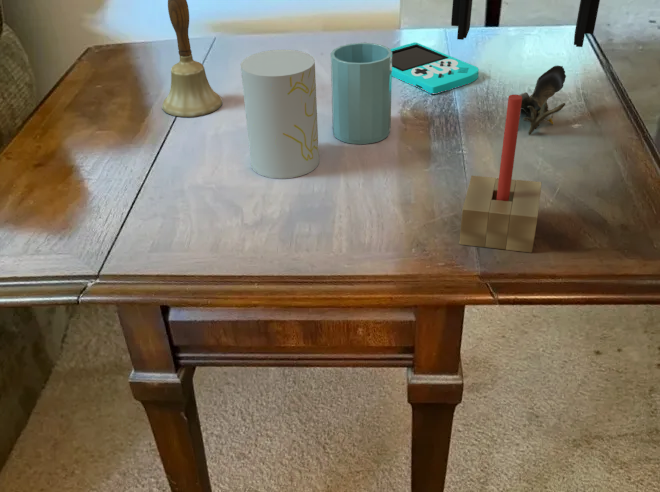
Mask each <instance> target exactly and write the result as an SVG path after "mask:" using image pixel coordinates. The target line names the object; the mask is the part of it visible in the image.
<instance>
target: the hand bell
mask: <svg viewBox="0 0 660 492" xmlns="http://www.w3.org/2000/svg"><path fill="white" fill-rule="evenodd" d="M189 10H190V9H189V5H188V1H187V0H167V12H168V16H169V21H170V24H171V25H172V28H173V30H174V32H175V35H176V41H177V42H176V43H177V50H178V51H177V52H178V57H179V61H178V62H176V63H175V64H174V65H172V66H171V68H170V88H169V92H168V95H167V96H166V97H165V98H164V100H163V102H162V107H161V108H162V110H163V112H164V113H166V114H168V115H171V116H173V117H178V118H179V117H180V118H194V117H196V118H197V117H200V116H201V117H202V116H206V115H208V114H212V113H213V112H216V111H217V110H219V109H220V108H221V106H222V104H223V99H222V97H221V96H220V94H219V93H217V92H216V91H215V90H214V89H213V88H212V86H211V85H210V83H209V80H208V77H207V74H206V70H205V69H206V68H205V66H204V65H203V63H202V62H199V61H197V60H194V57H193V54H192V48H191V43H190V37H189V28H190V11H189Z"/></svg>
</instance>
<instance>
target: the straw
mask: <svg viewBox="0 0 660 492" xmlns="http://www.w3.org/2000/svg"><path fill="white" fill-rule="evenodd" d="M521 104H522V96H520V94H510V95H509V96H508V99H507V105H506V106H507V107H506V114H505V123H504V132H503V139H502V149H501V155H500V156H501V157H500V164H499V165H500V166H499V173H498V178H499V181H498V189H497V198H496V200H501V201H509V195H510V187H511V180H513V171H514V164H515V158H516V157H515V156H516V149H517V142H518V141H517V140H518V135H519V134H518V132H519V125H520V118H521V111H522V108H521Z"/></svg>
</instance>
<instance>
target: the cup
mask: <svg viewBox="0 0 660 492" xmlns="http://www.w3.org/2000/svg"><path fill="white" fill-rule="evenodd" d="M240 73H241V82H242V90H243V91H242V92H243V93H242V94H243V101H244V111H245V112H244V113H245V120H246V132H247V140H248V148H249V149H248V150H249V159H250V167H251V169H252V170H253V172H255V173H256V174H258V175H259V176H262V177H266V178H269V179H279V180H281V179H282V180H283V179H292V178H293V179H294V178H298V177H302V176H305V175H307V174H309V173H311V172H313V171H314V170H316V168H317V167H318V166H319V164H320V153H319V152H320V151H319V130H318V129H319V128H318V125H319V124H318V108H317V107H318V106H317V105H318V103H317V82H316V80H317V79H316V60H315V58H314V56H313V55H311V54H310V53H307V52H304V51H302V50H295V49H272V50H265V51H260V52H256V53H253V54H250V55H248V56H246V57H245V58H244V59H243V60H242V61H241V62H240Z"/></svg>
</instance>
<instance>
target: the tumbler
mask: <svg viewBox="0 0 660 492" xmlns="http://www.w3.org/2000/svg"><path fill="white" fill-rule="evenodd" d="M390 49H391V48H390V47H387V46H386V45H384V44H379V43H373V42H356V43H355V42H354V43H348V44H343V45H340V46H338V47H336V48H334V49H332V51H331V52H330V77H331V78H330V81H331V82H330V83H331V84H330V85H331V114H332V115H331V116H332V117H331V118H332V133H333V136H334V137H335V139H337V140H339V141H341V142H344V143H347V144H352V145H368V144H369V145H370V144H375V143H377V142H381V141H383V140H385V139H386V138H387V137H389V136H390V135H391V128H392V127H391V126H392V89H393V88H392V87H393V84H392V82H393V80H392V79H393V76H392V52H391V50H390Z"/></svg>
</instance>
